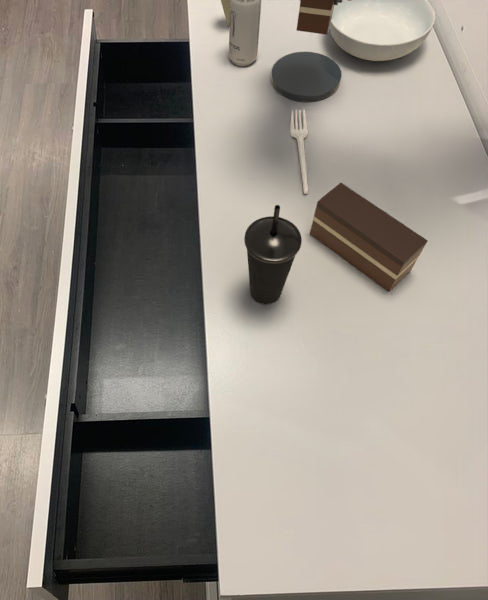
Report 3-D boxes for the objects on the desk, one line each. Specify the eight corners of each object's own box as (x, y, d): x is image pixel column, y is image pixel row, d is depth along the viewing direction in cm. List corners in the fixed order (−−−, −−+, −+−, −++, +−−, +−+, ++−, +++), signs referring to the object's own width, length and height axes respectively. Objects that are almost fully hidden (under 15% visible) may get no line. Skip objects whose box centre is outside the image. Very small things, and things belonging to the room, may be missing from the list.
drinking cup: (249, 265, 86) (257, 178, 68) (295, 278, 84) (315, 192, 67) (234, 303, 82) (238, 221, 65) (282, 318, 80) (299, 238, 63)
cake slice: (331, 19, 99) (340, -26, 92) (326, 34, 96) (335, -10, 90) (301, 15, 100) (307, -30, 93) (296, 30, 98) (302, -14, 91)
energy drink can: (225, 53, 114) (226, -18, 101) (251, 47, 114) (256, -25, 101) (233, 70, 111) (235, -1, 98) (261, 64, 111) (266, -8, 98)
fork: (296, 195, 93) (297, 188, 91) (288, 117, 103) (289, 109, 101) (315, 195, 92) (316, 187, 91) (305, 117, 103) (307, 109, 101)
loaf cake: (331, 215, 90) (340, 182, 83) (410, 271, 84) (428, 240, 77) (309, 233, 88) (317, 201, 81) (388, 292, 82) (404, 262, 75)
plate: (333, 55, 112) (334, 49, 110) (346, 99, 104) (347, 93, 103) (267, 60, 112) (267, 53, 111) (275, 104, 105) (276, 98, 103)
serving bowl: (322, 14, 119) (327, -17, 113) (418, 16, 117) (429, -16, 111) (324, 73, 109) (330, 42, 103) (429, 76, 107) (442, 45, 101)
